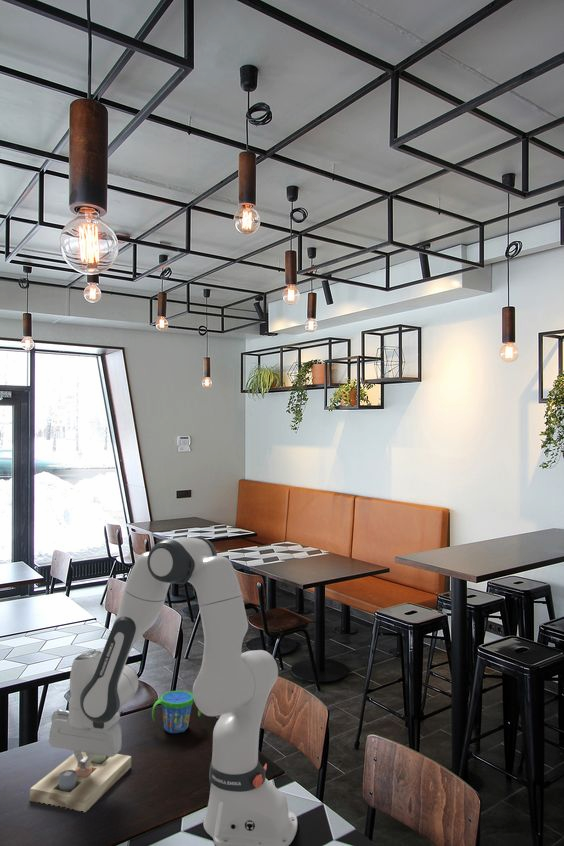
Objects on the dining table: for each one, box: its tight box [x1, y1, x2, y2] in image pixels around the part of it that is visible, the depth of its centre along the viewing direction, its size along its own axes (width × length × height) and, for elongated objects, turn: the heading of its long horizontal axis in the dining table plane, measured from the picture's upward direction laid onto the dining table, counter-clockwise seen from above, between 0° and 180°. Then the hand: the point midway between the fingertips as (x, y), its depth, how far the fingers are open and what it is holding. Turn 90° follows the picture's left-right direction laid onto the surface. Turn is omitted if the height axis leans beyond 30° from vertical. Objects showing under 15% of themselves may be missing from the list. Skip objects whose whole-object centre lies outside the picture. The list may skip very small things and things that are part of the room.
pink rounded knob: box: [75, 765, 92, 778], centre depth 159 cm, size 4×4×4 cm
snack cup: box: [151, 690, 202, 734], centre depth 191 cm, size 16×10×10 cm
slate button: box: [59, 770, 77, 792], centre depth 152 cm, size 4×4×4 cm
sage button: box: [91, 754, 106, 765], centre depth 166 cm, size 4×4×4 cm
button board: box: [29, 752, 132, 813], centre depth 159 cm, size 16×22×3 cm
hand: (83, 767), depth 159 cm, fingers closed
